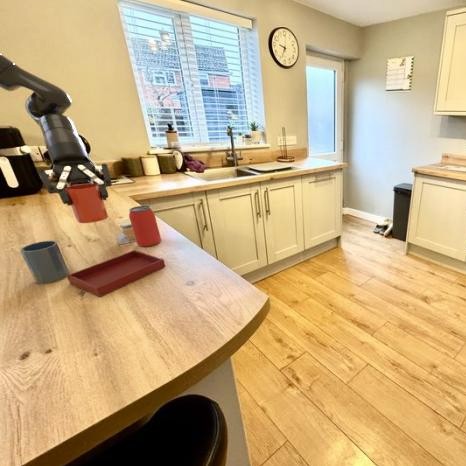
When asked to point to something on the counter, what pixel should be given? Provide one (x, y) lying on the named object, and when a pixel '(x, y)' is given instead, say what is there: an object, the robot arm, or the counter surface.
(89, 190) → the red cup
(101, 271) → the red tray
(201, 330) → the counter surface
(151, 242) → the beer can
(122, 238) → the stacked layers on plate
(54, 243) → the blue cup
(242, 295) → the counter surface
